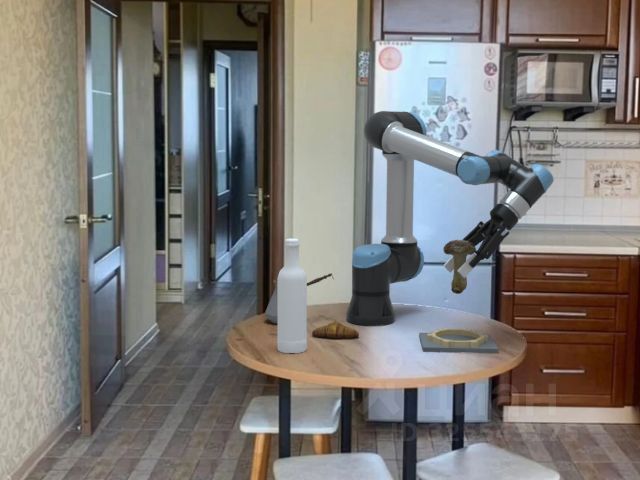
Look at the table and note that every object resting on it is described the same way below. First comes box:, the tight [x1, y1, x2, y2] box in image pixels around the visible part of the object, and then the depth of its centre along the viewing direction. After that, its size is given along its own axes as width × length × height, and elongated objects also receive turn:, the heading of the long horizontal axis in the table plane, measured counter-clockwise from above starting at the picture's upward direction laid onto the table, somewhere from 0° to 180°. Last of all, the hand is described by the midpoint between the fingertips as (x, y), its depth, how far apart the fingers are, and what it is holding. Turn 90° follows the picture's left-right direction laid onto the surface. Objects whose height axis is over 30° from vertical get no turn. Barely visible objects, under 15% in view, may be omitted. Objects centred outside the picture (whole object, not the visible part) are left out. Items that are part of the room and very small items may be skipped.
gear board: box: [418, 328, 500, 354], centre depth 217 cm, size 20×16×3 cm
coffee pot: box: [264, 273, 335, 325], centre depth 243 cm, size 21×12×15 cm, turn 95°
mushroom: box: [443, 239, 477, 295], centre depth 214 cm, size 9×9×15 cm
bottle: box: [276, 238, 308, 354], centre depth 209 cm, size 8×8×30 cm
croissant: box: [311, 320, 360, 340], centre depth 224 cm, size 14×7×5 cm, turn 83°
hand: (453, 271), depth 214 cm, fingers closed on mushroom, 8 cm apart
